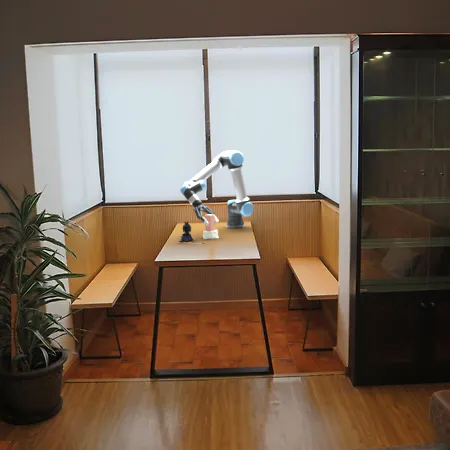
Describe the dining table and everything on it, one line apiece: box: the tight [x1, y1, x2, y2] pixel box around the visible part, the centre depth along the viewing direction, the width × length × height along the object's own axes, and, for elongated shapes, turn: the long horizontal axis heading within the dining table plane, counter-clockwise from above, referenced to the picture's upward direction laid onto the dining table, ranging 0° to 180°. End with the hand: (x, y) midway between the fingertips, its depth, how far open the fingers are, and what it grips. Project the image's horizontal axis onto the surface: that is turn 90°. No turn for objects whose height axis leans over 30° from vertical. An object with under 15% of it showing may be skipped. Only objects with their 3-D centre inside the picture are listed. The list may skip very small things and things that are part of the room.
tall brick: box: [204, 214, 216, 231], centre depth 402 cm, size 5×5×12 cm
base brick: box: [202, 229, 219, 239], centre depth 404 cm, size 8×8×5 cm
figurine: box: [177, 221, 194, 243], centre depth 396 cm, size 8×12×15 cm
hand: (212, 222), depth 401 cm, fingers open, 12 cm apart
